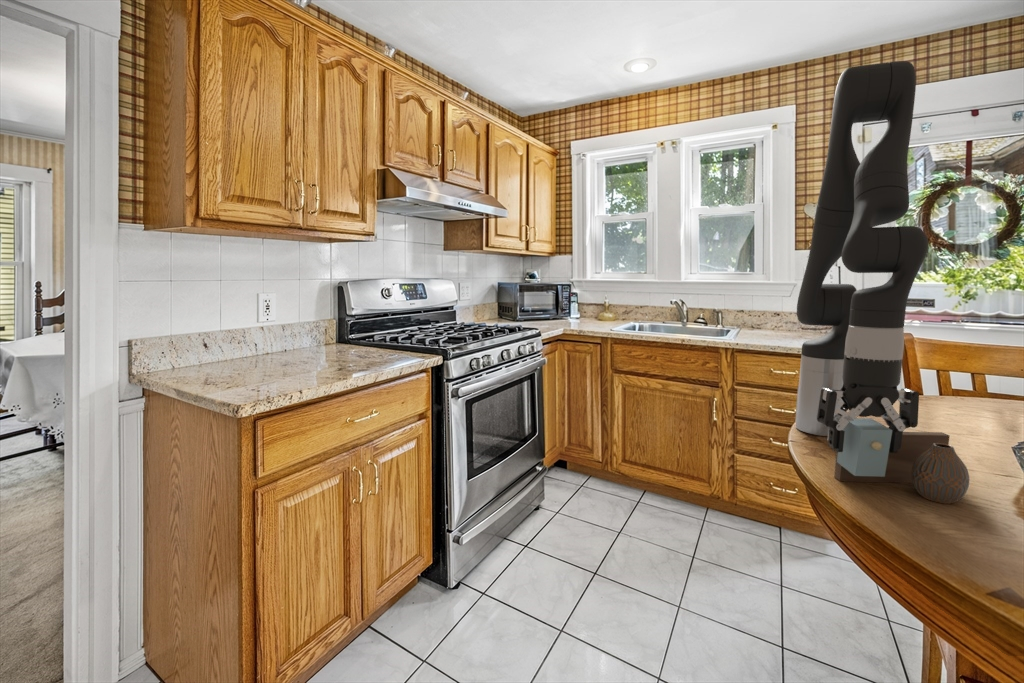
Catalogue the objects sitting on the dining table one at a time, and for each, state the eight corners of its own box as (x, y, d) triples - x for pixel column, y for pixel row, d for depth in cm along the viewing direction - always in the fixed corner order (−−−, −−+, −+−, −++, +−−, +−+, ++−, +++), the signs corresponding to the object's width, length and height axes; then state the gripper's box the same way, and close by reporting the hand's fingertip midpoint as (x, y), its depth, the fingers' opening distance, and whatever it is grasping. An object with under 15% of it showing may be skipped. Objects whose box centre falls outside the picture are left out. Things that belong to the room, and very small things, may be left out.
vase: (909, 499, 76) (915, 447, 75) (908, 484, 82) (914, 435, 81) (968, 512, 72) (976, 457, 71) (963, 496, 78) (970, 443, 76)
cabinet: (825, 453, 86) (831, 410, 85) (852, 453, 86) (858, 411, 84) (857, 478, 77) (865, 431, 76) (888, 479, 77) (896, 432, 75)
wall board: (834, 477, 85) (838, 430, 84) (936, 479, 84) (941, 432, 83) (839, 481, 83) (844, 433, 82) (943, 483, 82) (949, 435, 81)
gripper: (902, 350, 80) (892, 443, 83) (813, 350, 81) (806, 442, 84) (938, 358, 73) (926, 460, 75) (840, 358, 74) (831, 458, 76)
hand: (863, 450), depth 79 cm, fingers open, 8 cm apart
